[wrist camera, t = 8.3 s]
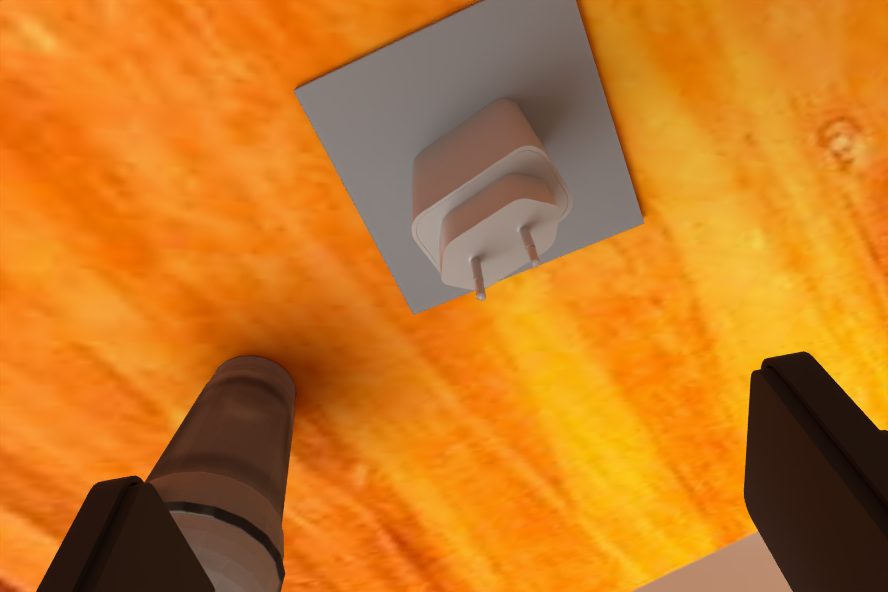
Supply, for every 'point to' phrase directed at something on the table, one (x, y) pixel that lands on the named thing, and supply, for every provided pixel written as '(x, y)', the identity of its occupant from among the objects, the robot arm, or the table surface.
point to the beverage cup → (233, 474)
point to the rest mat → (457, 99)
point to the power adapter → (486, 198)
